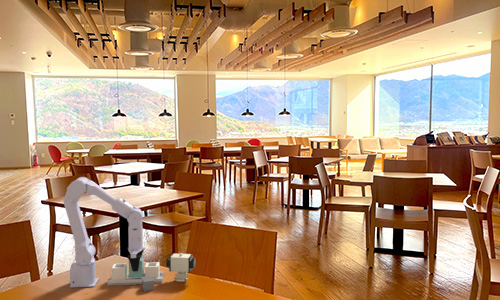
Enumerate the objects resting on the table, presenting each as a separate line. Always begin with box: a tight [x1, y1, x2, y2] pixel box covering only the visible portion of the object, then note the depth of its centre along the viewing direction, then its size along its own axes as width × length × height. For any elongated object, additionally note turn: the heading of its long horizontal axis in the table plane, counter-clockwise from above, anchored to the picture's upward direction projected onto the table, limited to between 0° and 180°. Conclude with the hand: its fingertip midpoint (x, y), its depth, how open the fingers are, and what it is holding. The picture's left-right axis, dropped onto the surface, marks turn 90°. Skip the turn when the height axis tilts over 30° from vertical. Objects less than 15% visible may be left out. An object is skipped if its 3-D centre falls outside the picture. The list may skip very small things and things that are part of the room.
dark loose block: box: [141, 277, 155, 292], centre depth 161 cm, size 4×4×4 cm
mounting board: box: [106, 261, 165, 287], centre depth 170 cm, size 22×10×7 cm, turn 98°
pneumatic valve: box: [165, 252, 197, 283], centre depth 169 cm, size 6×12×12 cm, turn 84°
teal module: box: [128, 256, 145, 278], centre depth 169 cm, size 6×4×7 cm
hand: (136, 268), depth 169 cm, fingers closed on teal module, 4 cm apart
